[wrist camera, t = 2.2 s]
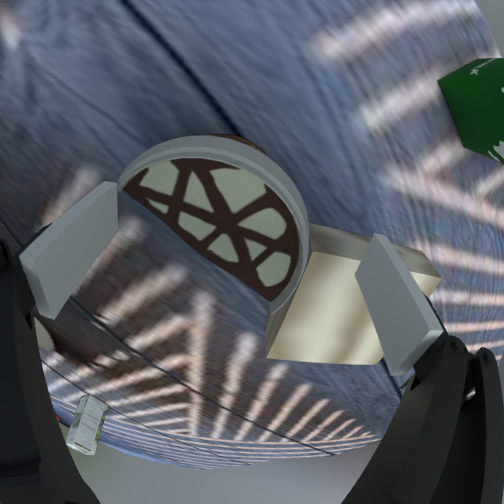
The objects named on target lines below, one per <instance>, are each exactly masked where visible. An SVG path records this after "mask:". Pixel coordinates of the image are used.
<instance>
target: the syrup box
mask: <svg viewBox="0 0 504 504" xmlns="http://www.w3.org/2000/svg"><path fill="white" fill-rule="evenodd" d="M108 407H109V406H108V405H107V404H105V403H103V402H102V401H100V400H98V399H96V398H95V397H93V396H91V395H86V396H83V397H81V399H80V402H79V405H78V407H77V410H76V413H75V416H74V418H73V421H72V424H71V427H70V430H69V433H68V437H67V440H66V444H67V445H68V446H70V447H71V448H73V449H75V450H77V451H79V452H81V453H84V454H89V455H94V453H95V450H96V447H97V443H98V439H99V436H100V433H101V429H102V426H103V423H104V419H105V416H106V413H107V410H108Z"/></svg>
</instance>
